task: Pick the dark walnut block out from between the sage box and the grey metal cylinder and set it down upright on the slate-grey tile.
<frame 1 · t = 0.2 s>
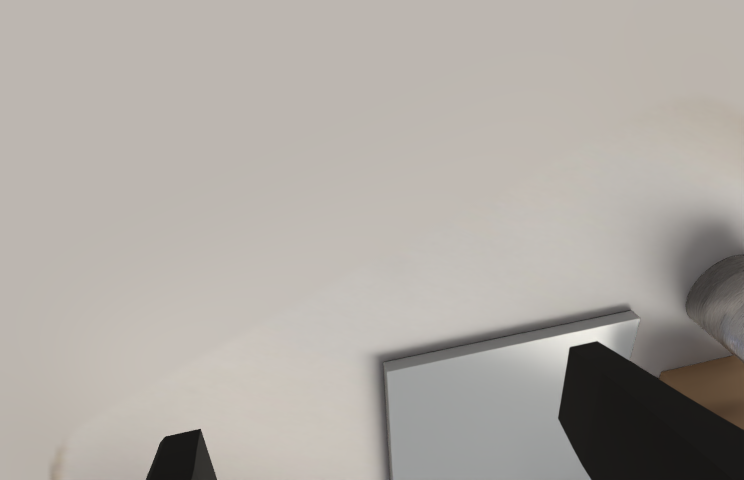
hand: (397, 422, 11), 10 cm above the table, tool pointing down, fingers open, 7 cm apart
slate tile: (503, 426, 27), on the table
walnut block: (687, 393, 30), on the table
grey cylinder: (723, 290, 26), on the table
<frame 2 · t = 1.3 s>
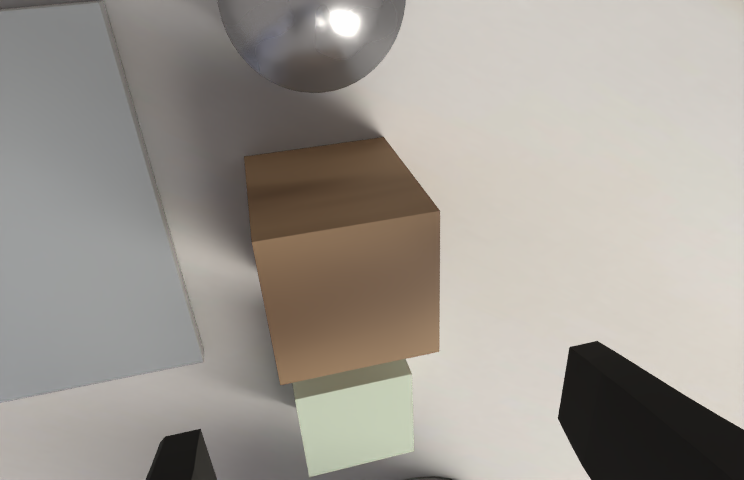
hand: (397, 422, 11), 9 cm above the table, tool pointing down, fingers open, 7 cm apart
walnut block: (322, 208, 19), on the table
sage box: (340, 360, 22), on the table
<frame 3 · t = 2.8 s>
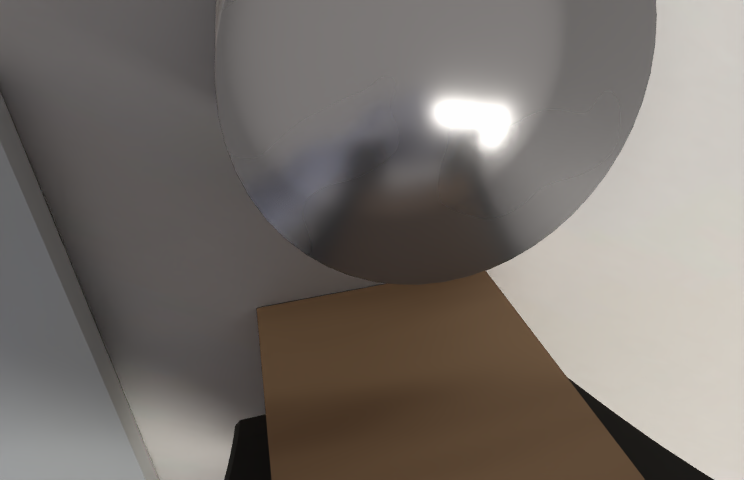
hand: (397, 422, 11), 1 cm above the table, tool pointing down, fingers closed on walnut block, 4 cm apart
walnut block: (379, 371, 12), on the table, touching gripper
grey cylinder: (354, 28, 8), on the table
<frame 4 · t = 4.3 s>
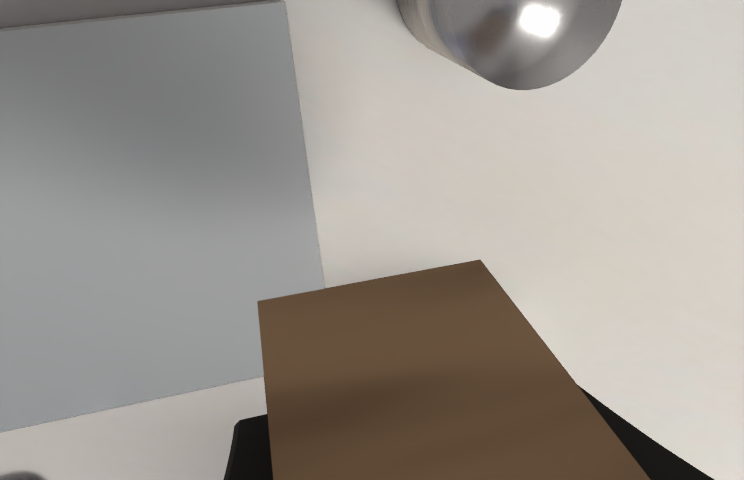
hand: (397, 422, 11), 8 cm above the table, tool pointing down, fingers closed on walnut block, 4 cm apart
slate tile: (111, 239, 16), on the table
walnut block: (378, 364, 12), point 7 cm above the table, touching gripper
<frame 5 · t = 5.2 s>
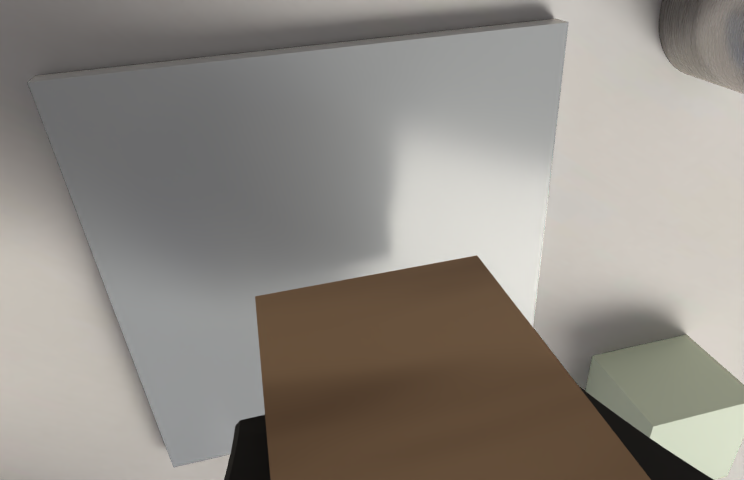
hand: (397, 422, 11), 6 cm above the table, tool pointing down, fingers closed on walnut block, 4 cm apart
slate tile: (340, 263, 16), on the table
walnut block: (376, 360, 12), point 4 cm above the table, touching gripper
sage box: (628, 381, 22), on the table
when the fingers open (4 cm above the table, at t = 6.1 s): walnut block drops 1 cm, resting on slate tile.
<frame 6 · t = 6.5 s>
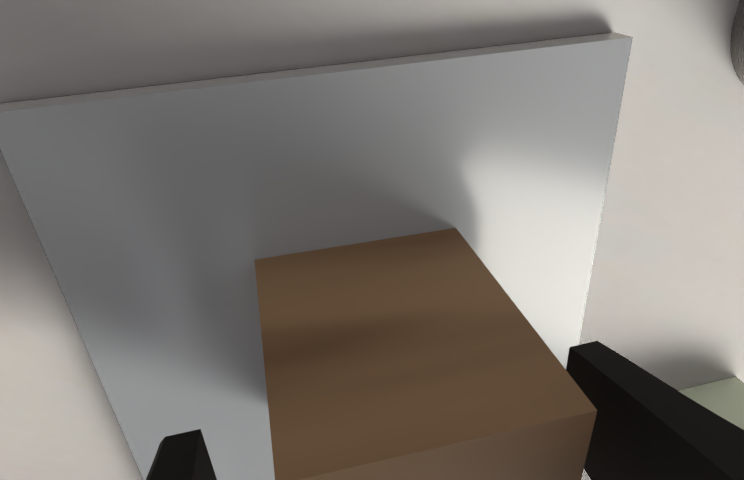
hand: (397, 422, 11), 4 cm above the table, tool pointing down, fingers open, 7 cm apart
slate tile: (358, 311, 14), on the table
walnut block: (363, 323, 13), point 1 cm above the table, touching slate tile
sage box: (670, 426, 20), on the table
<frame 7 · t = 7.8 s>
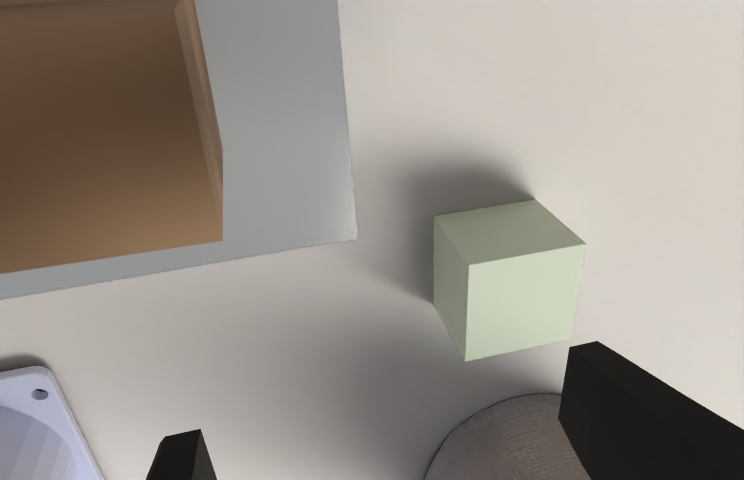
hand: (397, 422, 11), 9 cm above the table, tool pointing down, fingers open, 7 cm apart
pillar candle: (507, 457, 28), on the table
slate tile: (125, 77, 15), on the table
walnut block: (121, 80, 15), point 1 cm above the table, touching slate tile
sage box: (481, 252, 21), on the table
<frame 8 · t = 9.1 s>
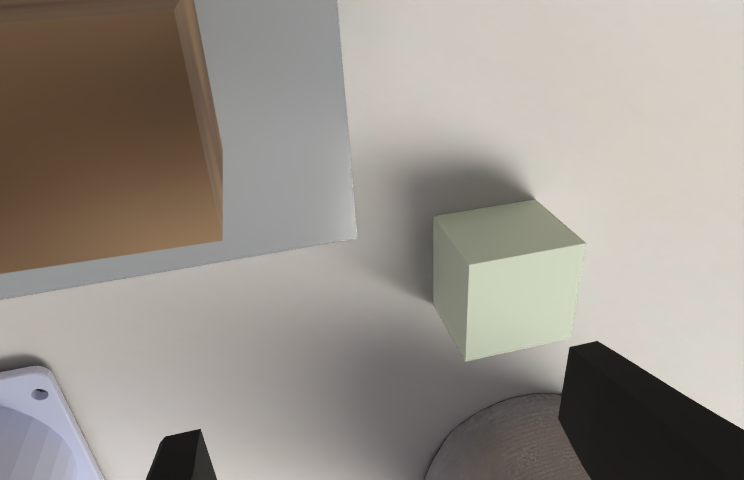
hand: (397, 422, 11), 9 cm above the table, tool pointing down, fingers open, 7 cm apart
pillar candle: (507, 457, 28), on the table
slate tile: (125, 77, 15), on the table
walnut block: (121, 80, 15), point 1 cm above the table, touching slate tile
sage box: (481, 252, 21), on the table
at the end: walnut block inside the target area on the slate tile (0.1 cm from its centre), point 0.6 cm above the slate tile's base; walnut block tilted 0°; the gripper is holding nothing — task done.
